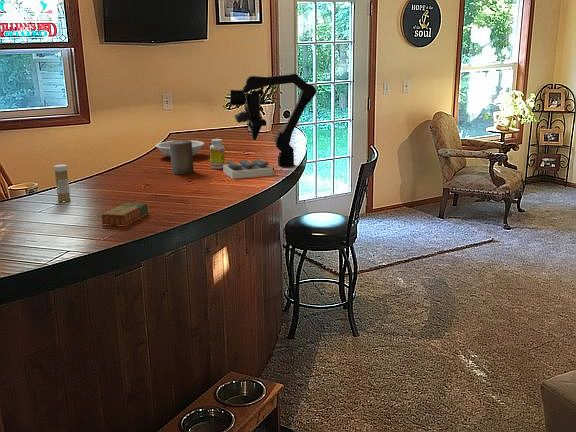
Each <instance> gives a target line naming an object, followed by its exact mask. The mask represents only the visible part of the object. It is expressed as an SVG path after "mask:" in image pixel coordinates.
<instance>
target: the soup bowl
mask: <svg viewBox="0 0 576 432" xmlns="http://www.w3.org/2000/svg"><path fill="white" fill-rule="evenodd" d="M189 140H190V139H189ZM172 141H173V140H169V141H163V142H159V143H156V144H155V147H156V148H158V149H159V151H160V152H161V153H162V154H163V155H165V156H166V157H169V158H171V153H170V142H172ZM190 141H192V153H193V156H194V155H196V154H197V153H198V152H199V151H200V150H201V149H202V147H203V146H204V145H205V141H204V142H203V141H200V140H190Z"/></svg>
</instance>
